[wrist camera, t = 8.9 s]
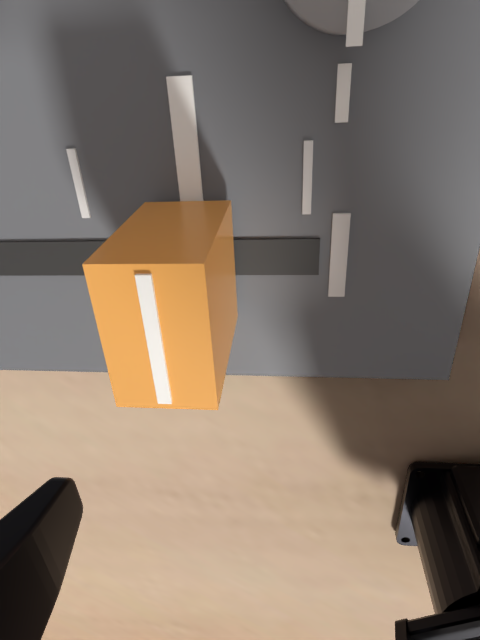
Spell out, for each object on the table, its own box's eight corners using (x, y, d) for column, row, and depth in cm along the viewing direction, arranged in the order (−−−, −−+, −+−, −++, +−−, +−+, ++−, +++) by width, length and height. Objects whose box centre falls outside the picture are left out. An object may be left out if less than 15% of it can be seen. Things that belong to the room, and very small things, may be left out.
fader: (237, 316, 17) (217, 412, 13) (162, 315, 18) (115, 409, 13) (231, 200, 15) (203, 265, 10) (145, 201, 16) (80, 265, 11)
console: (435, 352, 20) (465, 415, 17) (-91, 343, 23) (-160, 395, 20) (558, -243, 11) (680, -380, 8) (-329, -136, 14) (-537, -200, 11)
